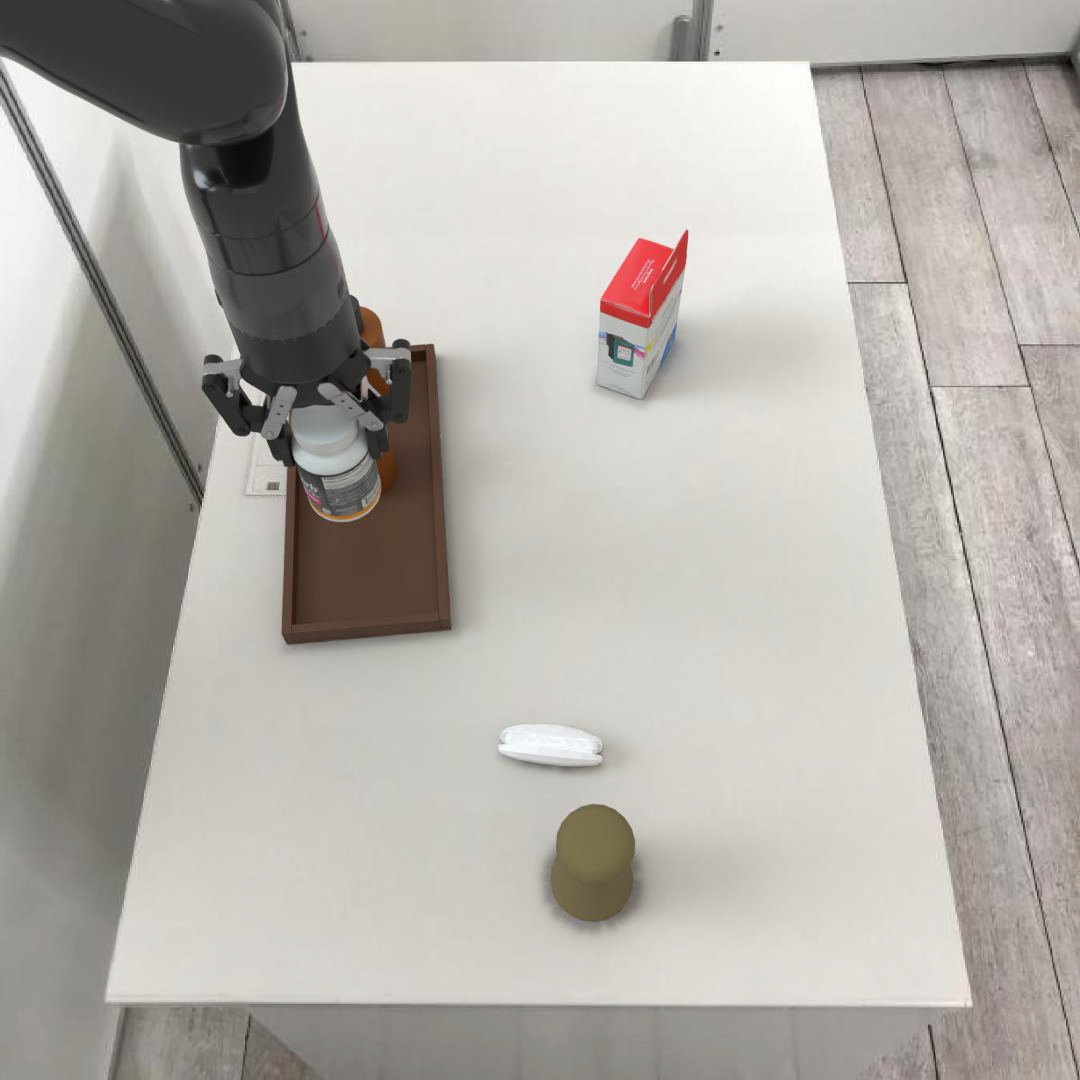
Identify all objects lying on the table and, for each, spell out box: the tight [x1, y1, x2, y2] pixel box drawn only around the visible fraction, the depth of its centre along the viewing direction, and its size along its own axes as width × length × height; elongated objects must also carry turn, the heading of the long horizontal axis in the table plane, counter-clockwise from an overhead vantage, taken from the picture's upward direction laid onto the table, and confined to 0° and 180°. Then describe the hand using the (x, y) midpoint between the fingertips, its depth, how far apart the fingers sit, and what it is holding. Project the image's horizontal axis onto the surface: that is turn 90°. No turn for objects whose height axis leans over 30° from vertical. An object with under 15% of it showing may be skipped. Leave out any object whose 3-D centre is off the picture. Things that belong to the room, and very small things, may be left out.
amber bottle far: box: [350, 294, 390, 396], centre depth 96 cm, size 6×6×12 cm
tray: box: [280, 343, 452, 645], centre depth 95 cm, size 14×30×2 cm, turn 5°
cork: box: [549, 803, 636, 923], centre depth 73 cm, size 6×6×11 cm
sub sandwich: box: [497, 723, 604, 768], centre depth 82 cm, size 3×8×3 cm, turn 83°
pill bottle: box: [290, 405, 381, 522], centre depth 79 cm, size 6×6×10 cm
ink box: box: [596, 228, 689, 400], centre depth 97 cm, size 8×5×15 cm, turn 154°
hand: (333, 452), depth 78 cm, fingers closed on pill bottle, 5 cm apart
